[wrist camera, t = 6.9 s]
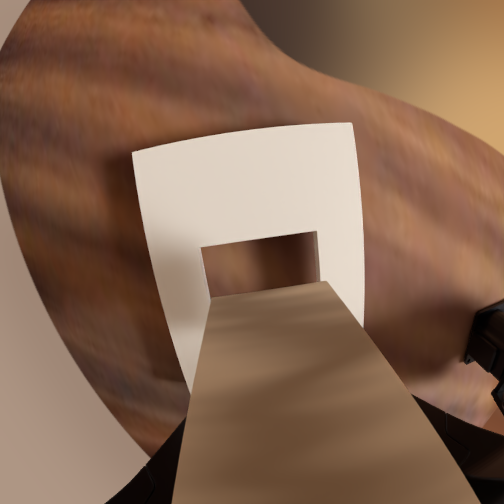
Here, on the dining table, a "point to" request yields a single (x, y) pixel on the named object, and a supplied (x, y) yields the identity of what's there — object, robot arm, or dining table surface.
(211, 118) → the dining table surface
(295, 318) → the wood peg
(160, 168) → the hole board
